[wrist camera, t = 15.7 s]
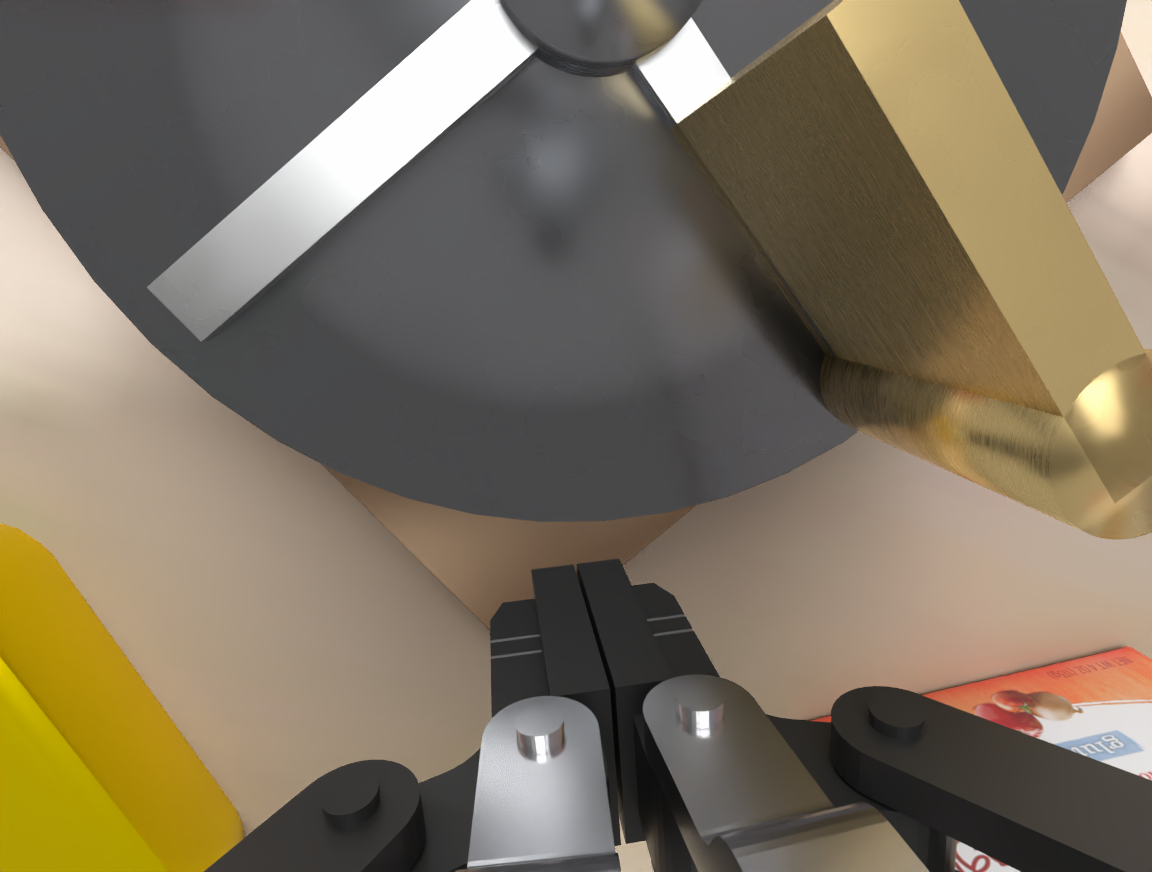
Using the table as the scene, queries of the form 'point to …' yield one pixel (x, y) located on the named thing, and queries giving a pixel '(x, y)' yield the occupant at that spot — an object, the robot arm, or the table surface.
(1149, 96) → the winch base
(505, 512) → the handwheel
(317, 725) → the table surface
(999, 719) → the cracker box
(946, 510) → the table surface
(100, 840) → the element tile
